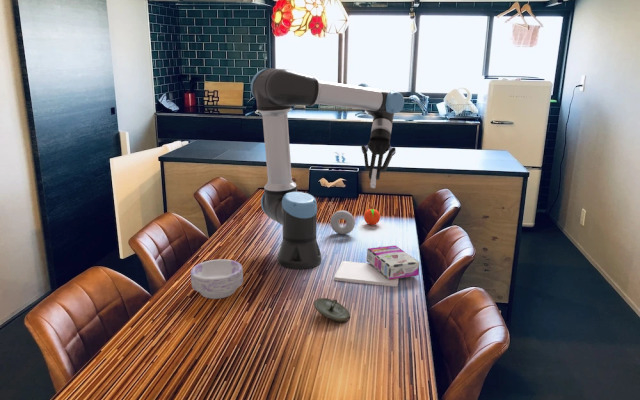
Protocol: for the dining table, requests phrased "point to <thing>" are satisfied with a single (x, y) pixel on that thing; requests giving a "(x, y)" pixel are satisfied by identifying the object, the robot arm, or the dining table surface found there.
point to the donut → (339, 228)
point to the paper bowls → (217, 278)
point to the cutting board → (362, 274)
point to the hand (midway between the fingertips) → (372, 186)
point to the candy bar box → (393, 262)
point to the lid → (332, 309)
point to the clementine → (372, 216)
